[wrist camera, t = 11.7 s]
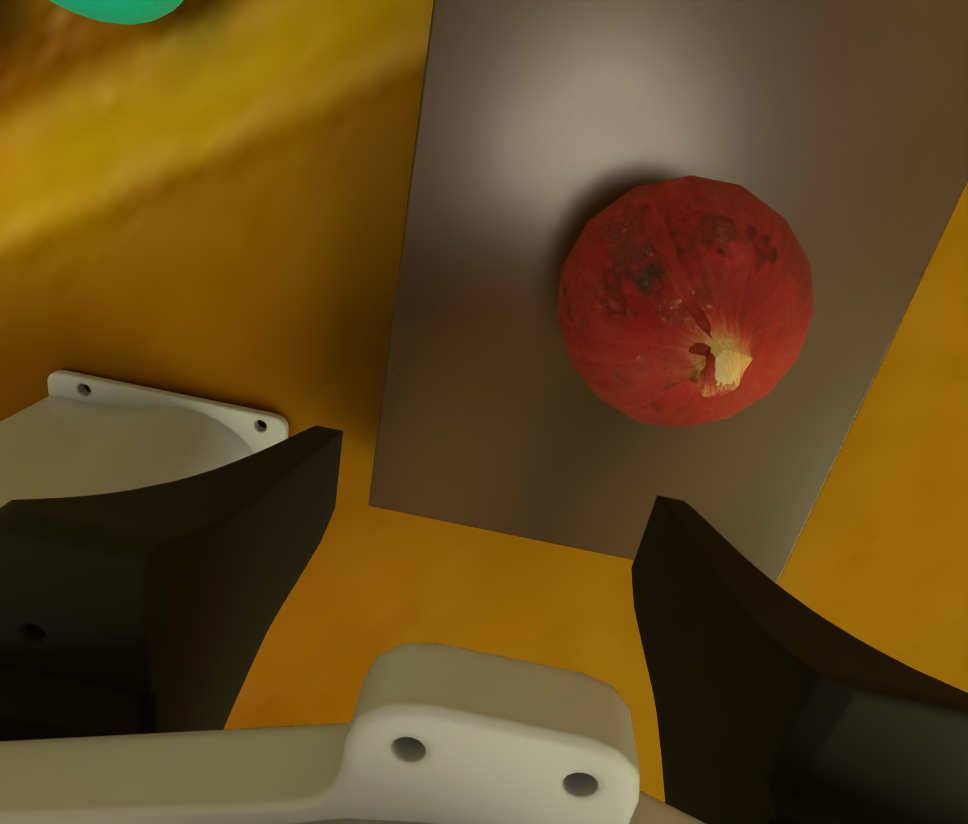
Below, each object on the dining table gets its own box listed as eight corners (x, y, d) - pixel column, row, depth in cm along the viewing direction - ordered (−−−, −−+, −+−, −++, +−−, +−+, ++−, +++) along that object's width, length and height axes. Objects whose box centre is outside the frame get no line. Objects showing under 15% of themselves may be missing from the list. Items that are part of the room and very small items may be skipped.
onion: (515, 255, 19) (499, 330, 11) (686, 123, 17) (795, 111, 10) (625, 401, 20) (672, 549, 13) (791, 293, 19) (954, 394, 11)
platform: (386, 466, 25) (367, 506, 23) (473, -159, 17) (460, -214, 15) (750, 541, 25) (775, 589, 23) (1007, -50, 17) (1094, -85, 15)
